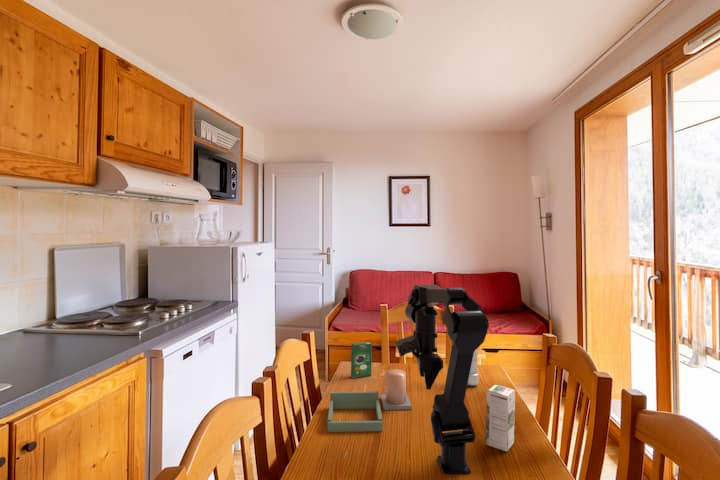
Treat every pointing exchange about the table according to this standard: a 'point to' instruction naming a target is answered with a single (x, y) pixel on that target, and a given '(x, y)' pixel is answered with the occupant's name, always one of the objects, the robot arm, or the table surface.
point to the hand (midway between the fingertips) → (425, 382)
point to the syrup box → (500, 417)
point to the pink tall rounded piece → (396, 386)
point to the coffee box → (361, 359)
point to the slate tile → (389, 406)
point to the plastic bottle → (474, 371)
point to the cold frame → (354, 402)
